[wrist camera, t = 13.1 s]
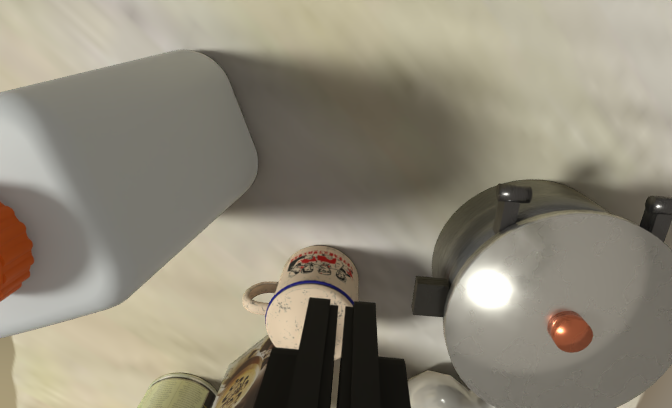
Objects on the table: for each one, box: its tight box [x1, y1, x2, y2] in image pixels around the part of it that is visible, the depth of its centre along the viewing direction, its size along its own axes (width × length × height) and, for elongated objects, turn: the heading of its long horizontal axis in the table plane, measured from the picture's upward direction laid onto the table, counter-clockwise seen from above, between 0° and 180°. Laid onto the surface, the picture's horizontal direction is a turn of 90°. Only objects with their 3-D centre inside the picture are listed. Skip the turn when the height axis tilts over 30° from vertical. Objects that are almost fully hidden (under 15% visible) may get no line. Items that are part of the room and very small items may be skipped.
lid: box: [443, 210, 672, 408], centre depth 38 cm, size 20×20×3 cm
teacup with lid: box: [243, 246, 359, 361], centre depth 45 cm, size 12×9×12 cm
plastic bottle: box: [0, 50, 258, 338], centre depth 33 cm, size 15×15×28 cm
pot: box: [412, 180, 672, 317], centre depth 43 cm, size 21×25×10 cm
